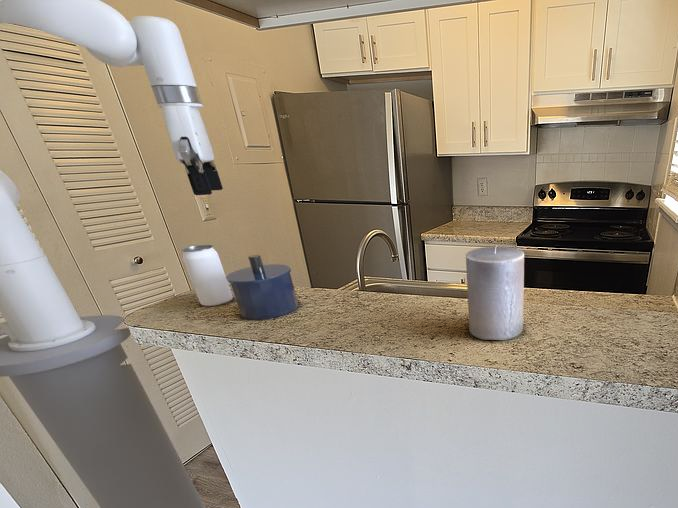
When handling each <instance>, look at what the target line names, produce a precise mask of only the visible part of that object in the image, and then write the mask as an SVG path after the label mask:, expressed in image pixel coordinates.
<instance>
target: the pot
mask: <svg viewBox="0 0 678 508" xmlns="http://www.w3.org/2000/svg"><path fill="white" fill-rule="evenodd" d="M229 286H230V289H231V292H232V295H233V296H234V299H235V302H236V305H237V308H238V311H239V313H240V316H241V317H242V318H244V319H247V320H255V321H256V320H259V321H260V320H269V319H273V318H278V317H282V316H284V315H287V314H289V313H291V312H293V311H295V310H296V309H297V308H298V306H299V303H298V302H299V301H298V298H297V294H296V291H295V285H294V283H293V279H292V275H291V272H290V273H289V274H287V275H285V276H283V277H281V278H278V279H274V280H270V281H266V282H260V283H252V284H234V283H230V282H229Z"/></svg>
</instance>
